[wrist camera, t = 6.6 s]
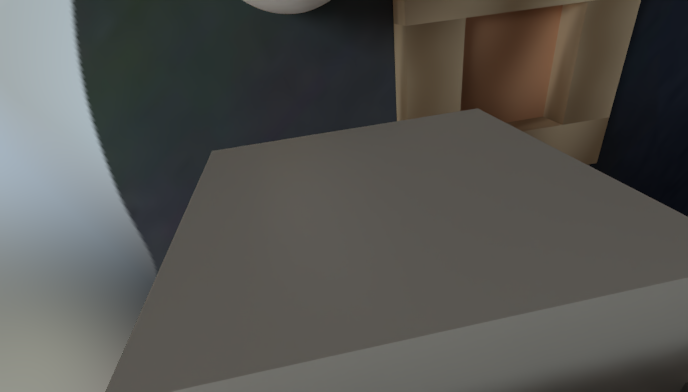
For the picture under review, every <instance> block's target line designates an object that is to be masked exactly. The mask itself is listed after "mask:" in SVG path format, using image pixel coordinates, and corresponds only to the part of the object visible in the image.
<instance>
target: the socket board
mask: <svg viewBox="0 0 688 392" xmlns="http://www.w3.org/2000/svg"><path fill="white" fill-rule="evenodd" d="M640 2H641V0H393V18H394V47H395V76H396V104H397V121H402V120H408V119H415V118H421V117H427V116H433V115H439V114H446V113H452V112H458V111H464V110H470V109H477V108H478V109H480V110H482V111H484V112H486V113H488V114H490V115H492V116H494V117H496V118H498V119H499V120H501V121H503V122H505V123H507V124H509V125H511V126H513V127H515V128H517V129H519V130H521V131H523V132H525V133H527V134H529V135H530V136H532V137H534V138H536V139H538V140H540V141H542V142H544V143H546V144H548V145H550V146H552V147H554V148H556V149H558V150H559V151H561V152H563V153H565V154H567V155H569V156H571V157H573V158H575V159H577V160H579V161H581V162H583V163H585V164H587V165H588V164H593V163H597V160H598V156H599V153H600V149H601V145H602V142H603V138H604V134H605V131H606V127H607V123H608V120H609V116H610V112H611V108H612V105H613V101H614V97H615V94H616V90H617V86H618V83H619V79H620V75H621V72H622V68H623V64H624V61H625V57H626V53H627V50H628V46H629V42H630V39H631V35H632V31H633V28H634V24H635V20H636V17H637V13H638V9H639V6H640Z"/></svg>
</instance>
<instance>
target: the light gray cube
mask: <svg viewBox="0 0 688 392" xmlns="http://www.w3.org/2000/svg"><path fill="white" fill-rule="evenodd" d="M687 382H688V217H687V216H685V215H683V214H681V213H679V212H677V211H676V210H674V209H672V208H670V207H668V206H666V205H664V204H662V203H660V202H658V201H656V200H654V199H652V198H650V197H648V196H647V195H645V194H643V193H641V192H639V191H637V190H635V189H633V188H631V187H629V186H627V185H625V184H623V183H621V182H619V181H618V180H616V179H614V178H612V177H610V176H608V175H606V174H604V173H602V172H600V171H598V170H596V169H594V168H592V167H590V166H588V165H587V164H585V163H583V162H581V161H579V160H577V159H575V158H573V157H571V156H569V155H567V154H565V153H563V152H561V151H559V150H558V149H556V148H554V147H552V146H550V145H548V144H546V143H544V142H542V141H540V140H538V139H536V138H534V137H532V136H530V135H529V134H527V133H525V132H523V131H521V130H519V129H517V128H515V127H513V126H511V125H509V124H507V123H505V122H503V121H501V120H499V119H498V118H496V117H494V116H492V115H490V114H488V113H486V112H484V111H482V110H480V109H478V108H477V109H470V110H464V111H458V112H452V113H446V114H439V115H433V116H427V117H421V118H415V119H408V120H402V121H396V122H390V123H384V124H377V125H371V126H365V127H359V128H353V129H346V130H340V131H334V132H328V133H322V134H315V135H309V136H303V137H297V138H291V139H284V140H278V141H272V142H266V143H260V144H253V145H247V146H241V147H235V148H229V149H222V150H216V151H212V152H211V154H210V157H209V159H208V161H207V163H206V166H205V168H204V170H203V172H202V175H201V177H200V179H199V182H198V184H197V186H196V188H195V191H194V193H193V195H192V197H191V200H190V202H189V204H188V206H187V209H186V211H185V213H184V215H183V218H182V220H181V222H180V224H179V227H178V229H177V231H176V233H175V236H174V238H173V240H172V242H171V245H170V247H169V249H168V251H167V254H166V256H165V258H164V260H163V263H162V265H161V267H160V270H159V272H158V274H157V276H156V279H155V281H154V283H153V285H152V288H151V290H150V292H149V294H148V297H147V299H146V301H145V303H144V306H143V308H142V310H141V313H140V315H139V317H138V319H137V321H136V324H135V326H134V328H133V330H132V333H131V335H130V337H129V340H128V342H127V344H126V346H125V348H124V351H123V353H122V355H121V358H120V360H119V362H118V364H117V367H116V369H115V371H114V374H113V376H112V378H111V380H110V382H109V385H108V387H107V389H106V391H105V392H680V391H681V389H682V387H683V386H684V384H685V383H687Z"/></svg>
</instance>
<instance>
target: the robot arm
mask: <svg viewBox="0 0 688 392" xmlns="http://www.w3.org/2000/svg"><path fill="white" fill-rule="evenodd" d="M680 392H688V382H687V383H685V384H684V386H683V387H682V389H681V391H680Z"/></svg>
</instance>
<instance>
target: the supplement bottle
mask: <svg viewBox="0 0 688 392" xmlns="http://www.w3.org/2000/svg"><path fill="white" fill-rule="evenodd" d="M243 1H245V2H246V3H248V4H250V5H252V6H254V7H256V8H259V9H262V10H265V11H268V12H273V13H279V14H297V13H304V12H307V11H310V10H313V9H315V8H318V7H320V6H322V5H324V4H325V3H327V2H329V1H330V0H243Z"/></svg>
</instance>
